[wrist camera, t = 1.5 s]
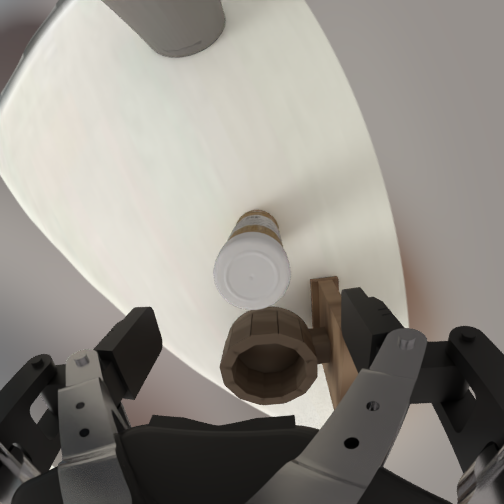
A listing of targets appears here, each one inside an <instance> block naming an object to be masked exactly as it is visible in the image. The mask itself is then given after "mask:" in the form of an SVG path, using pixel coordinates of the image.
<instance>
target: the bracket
mask: <svg viewBox="0 0 504 504" xmlns="http://www.w3.org/2000/svg"><path fill="white" fill-rule="evenodd" d="M310 281H311V301H312V327H313V328H312V329H308V328H307V325H306V324H305V322H304V321H303V320H302V319H301V318H300V317H299V316H298V315H296V314H295V313H293V312H291V311H289V310H287V309H283V308H279V307H267V308H263V309H258V310H250V311H248V312H246V313H244V314H243V315H241V316H240V317H239V318H238V319H237V320H236V321H235V322H234V323H233V325H232V327H231V328H230V331H229V334H228V338H227V340H226V342H225V346H224V350H223V355H222V359H221V363H220V370H221V374H222V378H223V382H224V384H225V386H226V387H227V388H228V389H229V390H231V391H232V392H233V393H234V394H235V395H236V396H237V397H238V398H240V399H243V400H246V401H249V402H252V403H256V404H259V405H261V404H262V405H271V404H283V403H284V402H285V403H287V402H289V401H291V400H293V399H295V398H297V397H299V396H301V395H303V394H305V393H306V392H307V390H308V389H309V388H310V386H311V385H312V384H313V382H314V381H315V380H316V378H317V364H322V365H323V369H324V372H325V376H326V380H327V384H328V388H329V392H330V396H331V400H332V404H333V408H334V410H335V409H336V407H337V406H338V404H339V403H340V401H341V400H342V399H343V397H344V396H345V394H346V393H347V391H348V389H349V388H350V386H351V385H352V383H353V382H354V380H355V379H356V377H357V375H358V372H357V369H356V367H355V365H354V362H353V360H352V357H351V355H350V353H349V350H348V348H347V346H346V343H345V341H344V339H343V336H342V331H341V294H340V293H339V281H338V277H337V276H334V277H326V278H318V279H310Z"/></svg>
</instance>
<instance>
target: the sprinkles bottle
mask: <svg viewBox="0 0 504 504" xmlns="http://www.w3.org/2000/svg"><path fill="white" fill-rule="evenodd" d="M213 274H214V281H215V285H216V287H217V289H218V291H219V293H220V294H221V295H222V297H223V298H224V299H225V300H227V301H228V302H229V303H230V304H232V305H234V306H236V307H239V308H242V309H247V310H258V309H263V308H267V307H269V306H271V305H273V304H274V303H276V302H277V301H278V300H279V299H280V298H281V297H282V296H283V295H284V294H285V292H286V290H287V288H288V286H289V283H290V277H291V271H290V264H289V260H288V256H287V254H286V252H285V250H284V248H283V245H282V241H281V237H280V233H279V228H278V224H277V222H276V220H275V219H274V217H273V216H271V215H270V214H269V213H267V212H265V211H261V210H253V211H249V212H247V213H245V214H244V215H243V216H241V217H240V219H239V220H238V222H237V224H236V226H235V228H234V229H233V231H232V233H231V235H230V237H229V239H228V241H227V242H226V243H225V245H224V246H223V247H222V249H221V250H220V252H219V254H218V257H217V259H216V261H215V265H214V271H213Z"/></svg>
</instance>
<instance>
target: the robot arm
mask: <svg viewBox="0 0 504 504" xmlns="http://www.w3.org/2000/svg"><path fill="white" fill-rule="evenodd" d="M101 1H103V2H104V3H105V4H106V5H107V6H108V7H109V8H110V9H111V10H113V11H114V12H115V13H116V14H117V15H118V16H119V17H120V18H121V19H122V20H123V21H124V22H125V23H127V24H128V25H129V26H130V27H131V28H132V29H133V30H134V31H135V32H136V33H137V34H138V35H139V36H140V37H141V38H142V39H143V40H144V41H145V42H146V43H147V44H148V45H149V46H150V47H151V48H152V49H153V50H154V51H156V52H157V53H159V54H161V55H163V56H167V57H183V56H189V55H192V54H195V53H197V52H199V51H201V50H204V49H205V48H207V47H208V46H210V45H211V44H212V43H213V42H214V41H215V40H216V39H217V38H218V37H219V36H220V34H221V33H222V31H223V28H224V26H225V14H224V11H223V7H222V4H221V0H101ZM341 331H342V336H343V339H344V341H345V343H346V346H347V348H348V350H349V353H350V355H351V357H352V360H353V362H354V365H355V367H356V369H357V372H358V375H357V377H356V379H355V380H354V382H353V383H352V385H351V386H350V388H349V389H348V391H347V393H346V394H345V396H344V397H343V399H342V400H341V401H340V403H339V404H338V406H337V407H336V409H335V410H334V411H333V413H332V414H331V416H330V417H329V418H328V420H327V421H326V423H325V424H324V425H323V427H322V428H321V429H320V430H319V429H315V428H312V427H306V426H299V425H295V415H290V416H279V417H266V418H255V419H250V420H246V421H242V422H236V423H232V424H226V425H220V426H217V425H212V424H207V423H203V422H198V421H195V420H191V419H187V418H183V417H182V418H181V417H170V416H158V415H152V418H151V420H150V422H149V424H146V425H141V426H136V427H131V425H130V422H129V420H128V417H127V414H126V412H125V409H124V406H123V405H122V403H121V400H122V398H125V399H132V400H135V398H136V396H137V394H138V392H139V391H140V389H141V387H142V385H143V383H144V381H145V380H146V378H147V376H148V374H149V372H150V370H151V369H152V367H153V365H154V363H155V361H156V360H157V358H158V356H159V354H160V352H161V350H162V337H161V334H160V331H159V327H158V324H157V321H156V317H155V314H154V311H153V309H152V308H151V307H135V308H133V309H132V310H131V312H130V313H129V314H128V315H127V316H126V317H125V318H124V319H123V320H122V321H120V322H119V323H117V324H116V325H115V326H114V327H113V328H112V329H111V331H109V333H108V334H107V336H105V337H104V338H103V339H102V340H101V342H99V344H98V345H97V346H96V347H95V348H94V349H93V350H92V349H85V350H80V351H78V352H76V353H74V354H72V355H71V356H70V357H69V358H68V359H67V361H66V364H63V365H55V364H54V362H53V360H52V358H51V356H50V355H47V354H41V355H38V356H35V357H33V358H31V359H30V360H29V361H28V362H27V363H26V364H25V365H24V366H23V367H22V368H21V369H20V370H19V371H18V372H17V373H16V374H15V375H14V377H13V378H12V379H11V380H10V381H9V382H8V383H7V384H6V385H5V386H4V387H3V389H2V390H1V391H0V504H452V503H451V502H449V501H447V500H444V499H443V498H441V497H438V496H436V495H434V494H432V493H430V492H428V491H426V490H424V489H422V488H420V487H418V486H416V485H414V484H412V483H411V482H409V481H407V480H405V479H403V478H401V477H400V476H398V475H396V474H394V473H392V472H391V471H389V470H387V469H386V468H384V467H383V466H384V464H385V462H386V460H387V457H388V455H389V453H390V451H391V449H392V447H393V445H394V442H395V440H396V438H397V436H398V433H399V431H400V429H401V426H402V424H403V421H404V419H405V416H406V414H407V411H408V408H409V406H410V404H417V403H432V405H433V407H434V409H435V411H436V413H437V415H438V417H439V419H440V421H441V423H442V425H443V427H444V430H445V432H446V434H447V436H448V438H449V441H450V443H451V445H452V447H453V449H454V452H455V454H456V456H457V459H458V461H459V464H460V466H461V469H462V471H463V475H462V477H461V478H460V480H459V482H458V485H457V496H458V498H457V500H458V503H457V504H504V354H503V353H502V352H501V351H500V350H499V349H498V348H497V347H496V346H495V345H494V344H493V343H492V342H491V341H490V340H489V339H488V338H487V336H486V335H485V334H483V332H481V331H480V330H479V329H476V328H473V327H470V326H460V327H456V328H454V329H453V330H452V331H451V332H450V334H449V338H448V341H439V342H427V338H426V337H425V335H424V334H423V333H421V332H420V331H418V330H415V329H410V328H404V327H403V326H402V324H401V323H400V322H399V321H398V320H397V318H396V317H395V316H394V315H393V314H392V312H391V311H390V310H389V309H388V307H387V306H386V305H385V304H384V303H383V301H381V300H379V299H377V298H375V297H369V298H368V296H367V295H366V294H365V293H364V291H363V290H362V289H361V288H360V287H358V288H351V289H344V290H342V293H341ZM469 386H470V387H471V388H472V390H473V391H474V393H475V396H476V399H475V398H474V396H473V395H472V393H471V392H470V390H469ZM39 394H40V396H41V398H42V399H43V401H44V402H45V404H46V405H47V407H48V409H47V410H46V412H45V413H44V415H43V416H42V418H41V419H40V420H39V422H38V424H36V423H35V422H34V420H33V419H32V417H31V415H30V406H31V405H32V403H33V402H34V401H35V399H36V398H37V397H38V396H39ZM60 449H61V450H62V462H60V463H59V464H58V466H57V467H55V468H53V469H51V470H49V469H50V467H51V465H52V463H53V462H54V460H55V458H56V456H57V454H58V452H59V451H60Z"/></svg>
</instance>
